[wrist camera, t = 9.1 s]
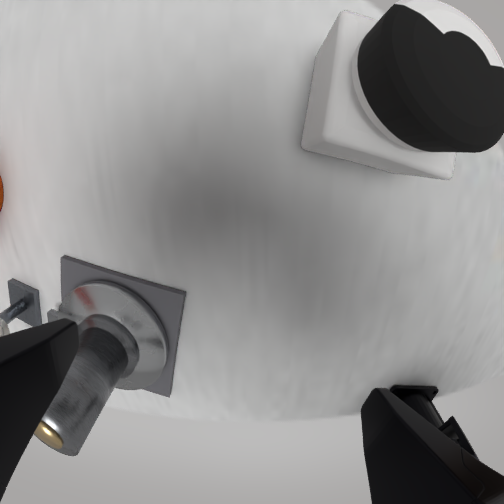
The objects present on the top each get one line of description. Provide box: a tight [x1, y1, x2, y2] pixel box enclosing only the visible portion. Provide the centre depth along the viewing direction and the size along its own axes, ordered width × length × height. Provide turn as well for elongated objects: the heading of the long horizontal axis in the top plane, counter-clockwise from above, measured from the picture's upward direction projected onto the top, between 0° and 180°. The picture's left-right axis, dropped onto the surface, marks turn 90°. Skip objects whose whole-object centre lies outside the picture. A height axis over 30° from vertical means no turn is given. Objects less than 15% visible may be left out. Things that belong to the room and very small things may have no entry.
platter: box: [47, 280, 168, 390], centre depth 21 cm, size 11×10×1 cm
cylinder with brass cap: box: [34, 314, 140, 456], centre depth 15 cm, size 6×6×10 cm
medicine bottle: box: [301, 0, 504, 180], centre depth 11 cm, size 7×7×12 cm
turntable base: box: [61, 255, 186, 397], centre depth 22 cm, size 11×11×1 cm
